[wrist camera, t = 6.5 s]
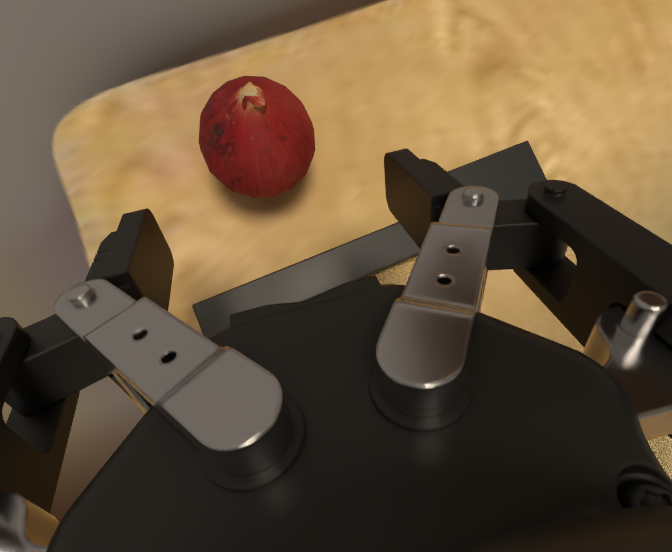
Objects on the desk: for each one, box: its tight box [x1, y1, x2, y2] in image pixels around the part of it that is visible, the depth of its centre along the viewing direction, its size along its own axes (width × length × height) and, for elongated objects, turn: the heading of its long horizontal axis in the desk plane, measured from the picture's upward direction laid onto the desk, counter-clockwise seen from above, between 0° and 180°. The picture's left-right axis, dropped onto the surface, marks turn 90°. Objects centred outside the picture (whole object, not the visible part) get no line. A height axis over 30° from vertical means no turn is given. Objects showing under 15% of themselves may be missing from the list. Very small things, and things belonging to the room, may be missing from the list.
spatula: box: [193, 141, 547, 339], centre depth 23 cm, size 23×6×1 cm, turn 113°
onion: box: [199, 76, 315, 197], centre depth 20 cm, size 6×6×8 cm
